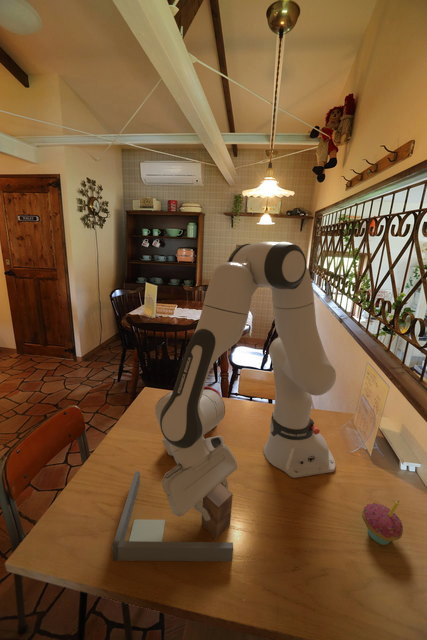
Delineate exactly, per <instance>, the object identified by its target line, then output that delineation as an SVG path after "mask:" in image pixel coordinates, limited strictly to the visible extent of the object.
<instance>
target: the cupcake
mask: <svg viewBox="0 0 427 640" xmlns="http://www.w3.org/2000/svg"><path fill="white" fill-rule="evenodd" d="M400 501H401V500H400V499H399V500H398V501H395V502H394V504H393V506H392V508H391V509H390V508H388V507H387V506H386V505H383V504H379V503H374V502H373V503H368V504H366V505H365V506H364V507H363V509H362V510H361V518H362V521H363V523H364V524H365V527H366V528H367V533H368V535H369V537H370V538H371V539H372V540H373V541H374V542H376V543H377V544H379V545H383V546H384V545H389V543H391V542H394V541H399V540H401V538H402V537H403V534H404V533H403V532H404V527H403V523H402V520H401V519H400V518H399V516H398V515H397V514H396V513H395V511H396V509H397V508H398V506H399V502H400Z"/></svg>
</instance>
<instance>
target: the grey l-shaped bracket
mask: <svg viewBox="0 0 427 640" xmlns="http://www.w3.org/2000/svg"><path fill="white" fill-rule="evenodd" d="M140 476H141V474H140V471H137V470H134V474H133V478H132V481H131V484H130V487H129V490H128V494H127V498H126V499H125V504H124V507H123V510H122V514H121V516H120V521H119V524H118V526H117V529H116V533H115V536H114V539H113V544H112V546H111V551H112V561H132V562H133V561H134V562H135V561H136V562H139V561H143V562H144V561H145V562H146V561H147V562H150V561H151V562H153V561H154V562H156V561H157V562H159V561H161V562H167V561H168V562H233V555H234V542H230V541H229V542H226V541H224V542H222V541H221V542H219V541H217V542H215V541H213V542H211V541H208V542H207V541H163V539H164V532H165V523H166V519H141V518H140V519H134V520H133V524H132V527H131V531H130V532H131V533H130V536H129V539H128V540H127V541H125V539H126V534H127V531H128V528H129V525H130V520H131V517H132V514H133V509H134V505H135V502H136V499H137V495H138V492H139V487H140V484H141V477H140Z"/></svg>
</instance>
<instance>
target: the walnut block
mask: <svg viewBox="0 0 427 640" xmlns="http://www.w3.org/2000/svg"><path fill="white" fill-rule="evenodd" d="M233 494H234V493H233V492H231V490H229V488H228V489H227V488H225V487H224V486H223V485H222V484H221V483H220V484H218V485H217V486H216V487H215V488H214V489H213V490H211V491H210V492H209V493H208V494H207V495H206V496H205V497H204V498H203V499H202V502H203V505H202V507H203V508H205V509H210V510H211V513H212V514H213V517H212V518H211V519H210V520H209V521H206V520H205V519H204V517H203V515H202V514H201V525H202V527H203V528H204V529H205V530H206V531H207V532H208V533H209V534H210V535H211V536H212V537H213V538H214V539H215V540H217V539H218V538H219V537H220V536H221V535H223V533H224V532H225V531H226V530H227V529H228V528H229V526H231V517H232V506H233V505H232V504H233Z"/></svg>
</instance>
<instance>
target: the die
mask: <svg viewBox="0 0 427 640" xmlns="http://www.w3.org/2000/svg"><path fill="white" fill-rule="evenodd" d="M161 442H162V444H163V446H164V448H165V450H166V452H167V454H168V455H169V456H172V457H173V454H172V452H171V448H170V444H169V442H168V441H167V440H166V439H165V437H164V436H163V438H162V439H161Z"/></svg>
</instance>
